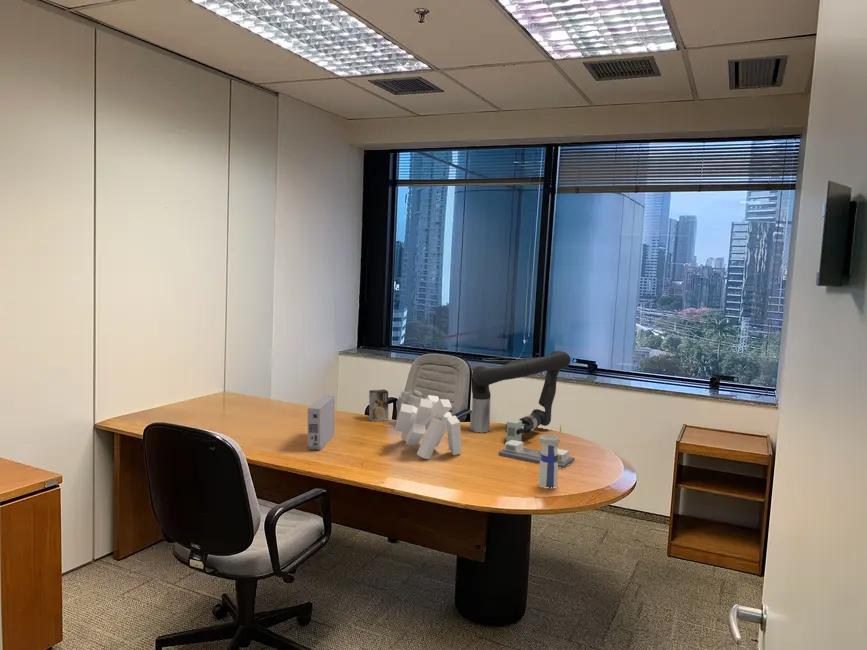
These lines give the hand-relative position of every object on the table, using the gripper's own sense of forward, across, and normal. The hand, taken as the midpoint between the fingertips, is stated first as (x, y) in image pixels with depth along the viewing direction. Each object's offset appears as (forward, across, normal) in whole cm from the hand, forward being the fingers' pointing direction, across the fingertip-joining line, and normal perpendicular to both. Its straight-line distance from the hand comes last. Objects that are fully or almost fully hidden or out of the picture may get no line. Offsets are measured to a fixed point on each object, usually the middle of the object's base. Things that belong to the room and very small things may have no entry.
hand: (511, 431), depth 301 cm
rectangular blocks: (+12, +18, +4) cm, 22 cm away
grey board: (+11, +18, +6) cm, 22 cm away
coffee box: (+2, -79, +7) cm, 79 cm away
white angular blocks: (+32, -27, +7) cm, 43 cm away
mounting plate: (+11, +18, +5) cm, 22 cm away
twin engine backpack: (-1, -56, +7) cm, 56 cm away
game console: (+51, -74, +7) cm, 90 cm away
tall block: (-3, 0, +6) cm, 7 cm away
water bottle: (+39, +36, +7) cm, 54 cm away
